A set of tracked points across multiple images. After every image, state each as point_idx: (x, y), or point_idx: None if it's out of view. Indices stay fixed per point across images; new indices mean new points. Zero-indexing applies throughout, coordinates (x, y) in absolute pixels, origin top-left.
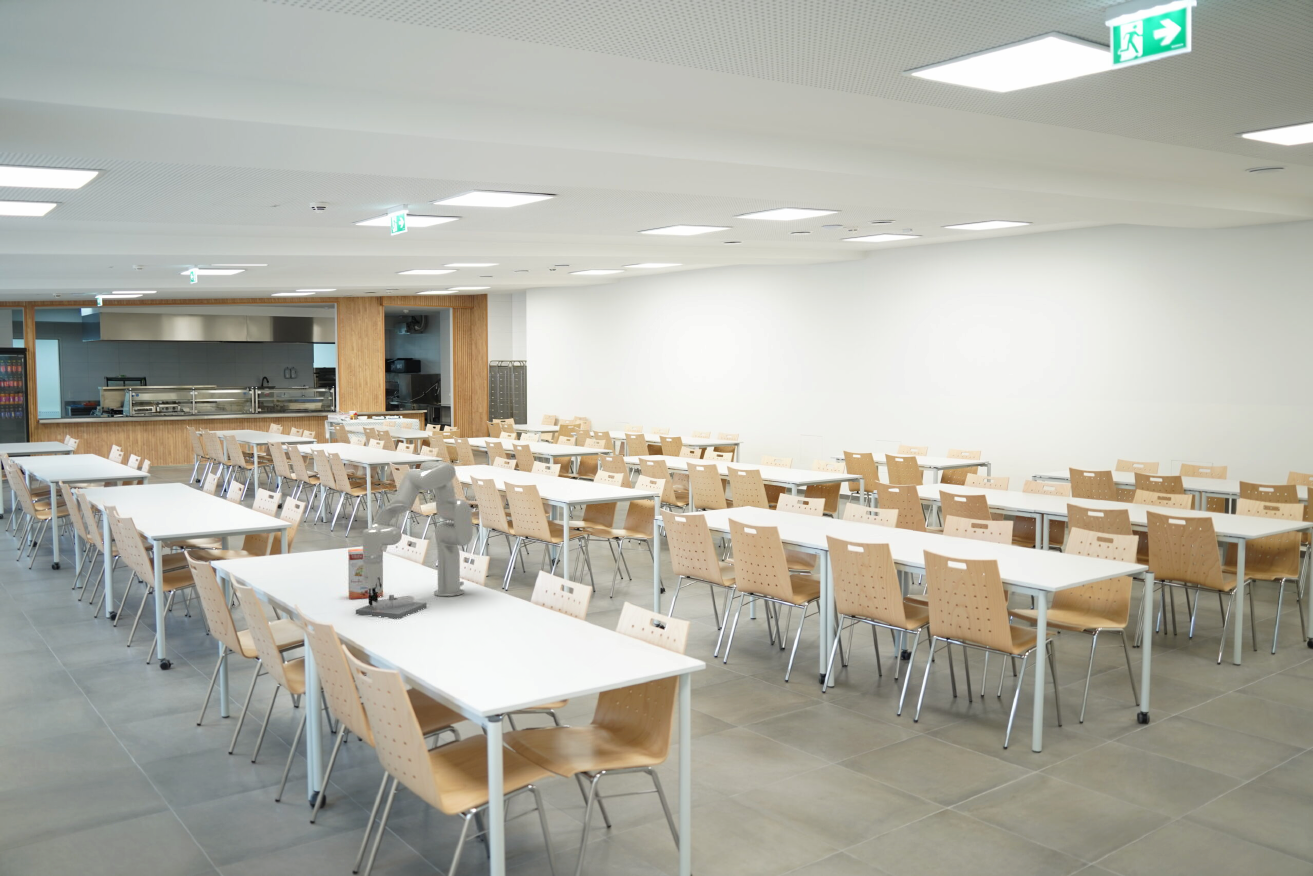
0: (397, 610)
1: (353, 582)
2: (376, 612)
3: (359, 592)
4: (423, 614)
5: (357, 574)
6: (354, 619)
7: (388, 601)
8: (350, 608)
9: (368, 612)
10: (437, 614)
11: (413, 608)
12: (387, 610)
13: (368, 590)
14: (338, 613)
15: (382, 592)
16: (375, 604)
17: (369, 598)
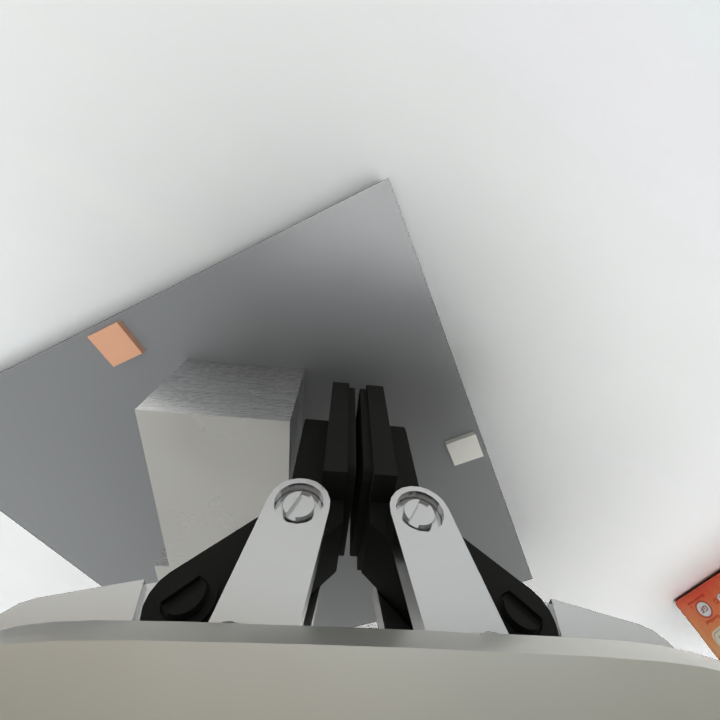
0: (64, 482)
1: None
2: (114, 316)
3: None
4: (47, 562)
5: None
6: (152, 4)
7: (166, 532)
8: (667, 301)
9: (213, 267)
10: (8, 603)
11: (95, 578)
12: (112, 426)
13: (437, 563)
14: (629, 37)
15: (703, 636)
16: (193, 395)
17: (366, 435)
